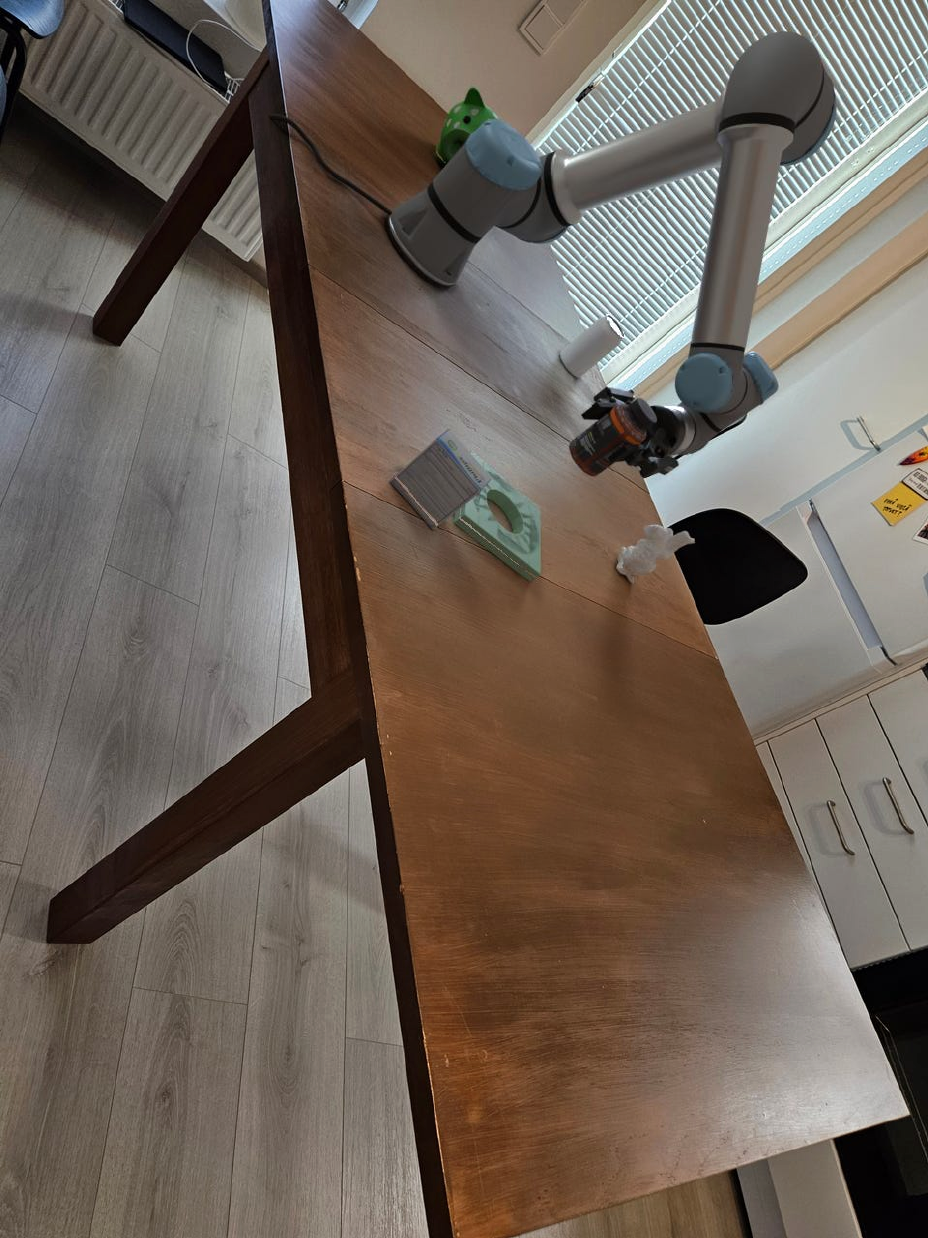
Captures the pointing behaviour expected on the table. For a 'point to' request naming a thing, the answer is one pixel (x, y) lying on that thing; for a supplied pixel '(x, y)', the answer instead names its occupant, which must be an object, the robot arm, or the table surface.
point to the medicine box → (442, 478)
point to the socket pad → (523, 519)
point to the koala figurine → (650, 550)
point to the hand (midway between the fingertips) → (603, 432)
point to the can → (592, 345)
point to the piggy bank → (462, 124)
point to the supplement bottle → (611, 435)
